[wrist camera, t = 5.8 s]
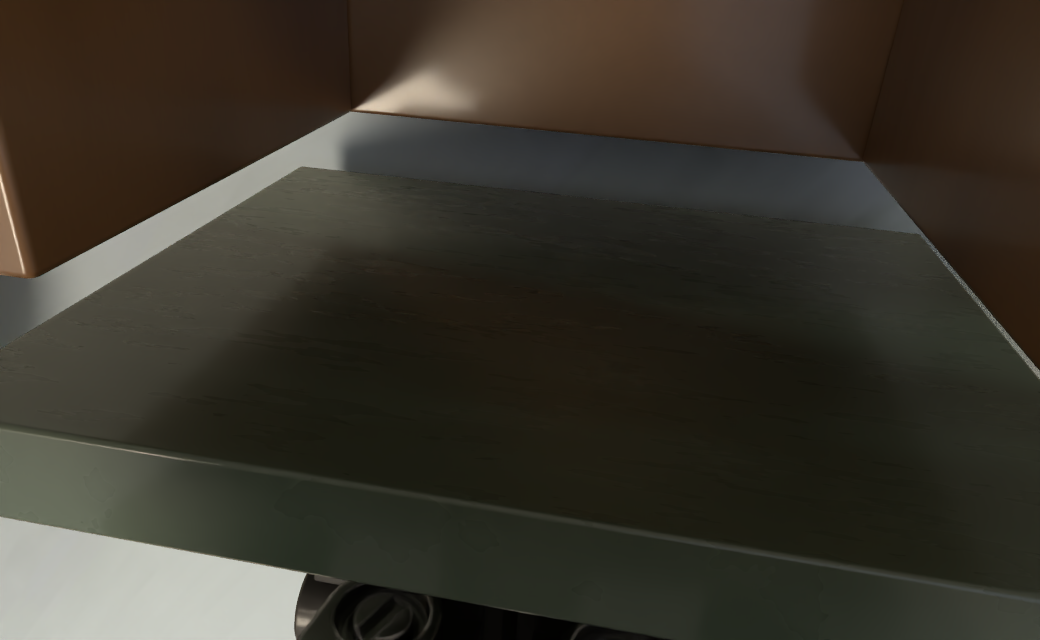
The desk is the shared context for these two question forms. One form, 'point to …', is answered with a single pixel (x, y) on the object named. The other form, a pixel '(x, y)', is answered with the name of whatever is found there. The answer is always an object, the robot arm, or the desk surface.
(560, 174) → the desk surface
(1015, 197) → the drawer
